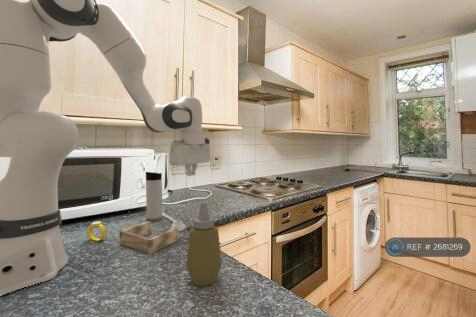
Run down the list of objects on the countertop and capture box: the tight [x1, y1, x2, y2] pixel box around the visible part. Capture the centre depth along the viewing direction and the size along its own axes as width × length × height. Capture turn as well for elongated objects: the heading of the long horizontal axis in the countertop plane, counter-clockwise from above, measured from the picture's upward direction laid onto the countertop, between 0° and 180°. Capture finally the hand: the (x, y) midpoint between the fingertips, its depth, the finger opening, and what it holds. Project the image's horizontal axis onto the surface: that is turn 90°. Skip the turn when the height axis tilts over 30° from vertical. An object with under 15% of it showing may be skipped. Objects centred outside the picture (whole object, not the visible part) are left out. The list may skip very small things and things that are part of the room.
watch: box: [87, 220, 107, 242], centre depth 76 cm, size 6×3×6 cm, turn 73°
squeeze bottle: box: [186, 202, 222, 287], centre depth 54 cm, size 8×8×18 cm
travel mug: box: [145, 171, 164, 222], centre depth 97 cm, size 6×7×20 cm
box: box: [119, 220, 179, 255], centre depth 75 cm, size 11×14×4 cm
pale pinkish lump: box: [170, 220, 186, 232], centre depth 85 cm, size 5×3×5 cm
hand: (191, 175), depth 91 cm, fingers closed
